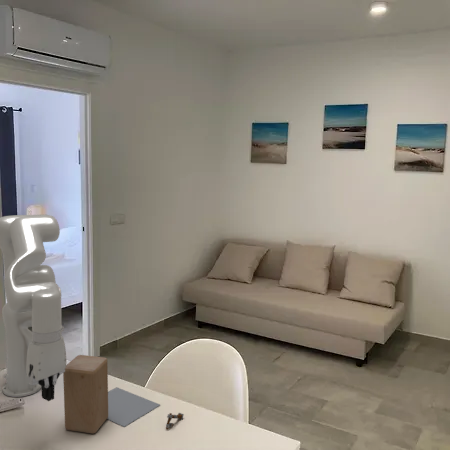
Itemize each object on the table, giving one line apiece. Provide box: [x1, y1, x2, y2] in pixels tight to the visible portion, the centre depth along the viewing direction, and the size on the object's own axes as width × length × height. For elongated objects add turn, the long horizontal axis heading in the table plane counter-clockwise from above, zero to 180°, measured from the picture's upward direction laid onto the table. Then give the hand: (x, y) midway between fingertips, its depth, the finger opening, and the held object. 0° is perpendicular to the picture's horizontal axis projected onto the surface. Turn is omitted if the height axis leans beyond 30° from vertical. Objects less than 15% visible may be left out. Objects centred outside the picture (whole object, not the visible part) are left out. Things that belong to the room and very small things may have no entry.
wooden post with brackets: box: [165, 412, 185, 430], centre depth 153 cm, size 2×8×4 cm, turn 152°
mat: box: [106, 387, 161, 428], centre depth 163 cm, size 20×16×1 cm
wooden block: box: [62, 354, 109, 434], centre depth 150 cm, size 10×10×20 cm
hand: (48, 398), depth 138 cm, fingers closed
